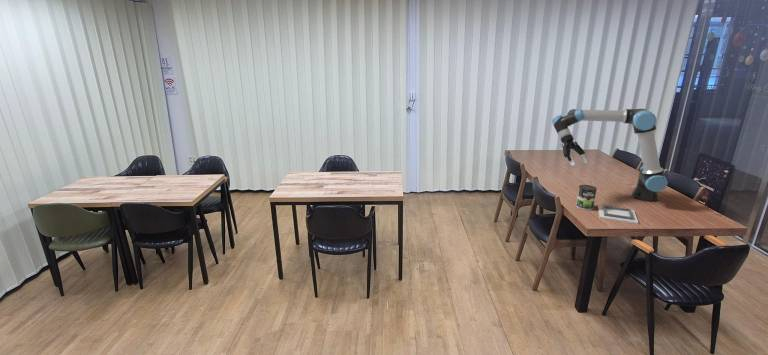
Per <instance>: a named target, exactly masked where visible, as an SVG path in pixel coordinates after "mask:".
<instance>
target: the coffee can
mask: <svg viewBox="0 0 768 355" xmlns="http://www.w3.org/2000/svg"><path fill="white" fill-rule="evenodd" d="M597 189H598V188H597V187H596V186H594V185H589V184H580V185H578V193H577V196H576V204H575V207H576V208H577V209H581V210H585V211H591V210H593V209H594V205H595V200H596V195H597Z"/></svg>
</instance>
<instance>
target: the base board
mask: <svg viewBox="0 0 768 355" xmlns="http://www.w3.org/2000/svg"><path fill="white" fill-rule="evenodd" d="M597 210H598V217H599V219H603V220H609V221H615V222H616V221H617V222H623V223H629V224H635V225H636V224H637V225H639V220H638V217H637V215H636V212H635V210H633V209H631V208H624V207H618V206H612V205H611V206H609V205H597Z"/></svg>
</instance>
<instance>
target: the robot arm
mask: <svg viewBox="0 0 768 355" xmlns="http://www.w3.org/2000/svg"><path fill="white" fill-rule="evenodd" d="M581 121H582V122H587V121H588V122H611V123H612V122H618V123H623V124H629V125H632V128H633V133H634V135H637V138H638V143H639V148H640V154H641V159H642V164H643V165H642V166H640V168H639V174H638V180H637V184H636V186H635V188H634V189H633V191H632V193H631V197H633V198H634V199H636V200H640V201H646V202H656V201H657V202H658V200H659V192H661V191H664V190H665V189H666V187H667V186H668V179H667V177H666V176H665V171H664V168H663V167H661V164H660V159H659V152H658V147H657V142H656V138H655V132H656V130H657V125H656V124H657V117H656V115H655V114H654V113H653V112H652V111H651V110H648V109H645V108H625V109H624V110H609V109H608V110H607V109H604V110H603V109H602V110H601V109H575V108H573V109H570V110H569V111H568V112H567V114H566V115H565V116H563V115H562V114H559V115H556V116H554V117H553V118H552V119H551V123H552V126H553V127H554V129H555V131H556V134H557V135H558V137H559V139H560V142H561V143H562V144H561V147H562V153H563V154H562V155H563V156H564V158H567V160H568V162H569V163H570V165H571V167H573V166H575V165H576V162H575V160H574V158H573V156H572V154H571V150H573V151H575V152H576V153H577V154H578V155H579V158H580V160H581V163H582V164H583V165H586V164H588V163H589V162H588V160H587V158H586V156H585V155H584V154H585V153H586V151H585V150H584V149H583V148H582V146H580V144H578V142H577V141H574V137H573V134H572V131H570V129H569V127H570V126H572V125H575V124H577V123H578V122H581Z"/></svg>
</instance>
